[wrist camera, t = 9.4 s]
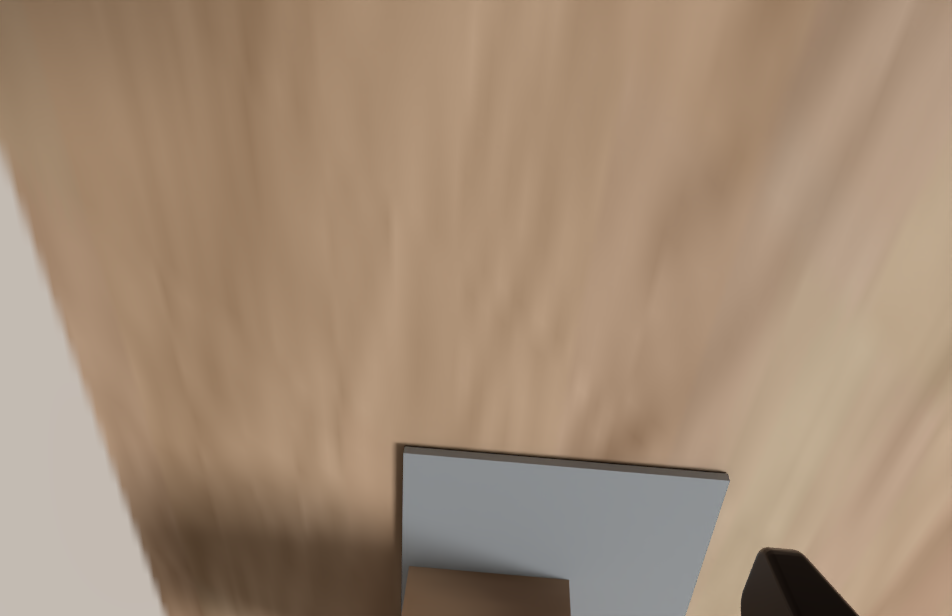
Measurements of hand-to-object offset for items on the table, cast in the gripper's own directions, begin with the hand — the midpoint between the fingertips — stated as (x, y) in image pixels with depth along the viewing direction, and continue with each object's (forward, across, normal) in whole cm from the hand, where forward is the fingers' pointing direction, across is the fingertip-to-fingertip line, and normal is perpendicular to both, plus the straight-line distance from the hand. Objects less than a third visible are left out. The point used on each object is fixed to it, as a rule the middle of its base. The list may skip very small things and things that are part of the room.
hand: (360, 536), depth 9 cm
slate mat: (+12, -4, +16) cm, 20 cm away
